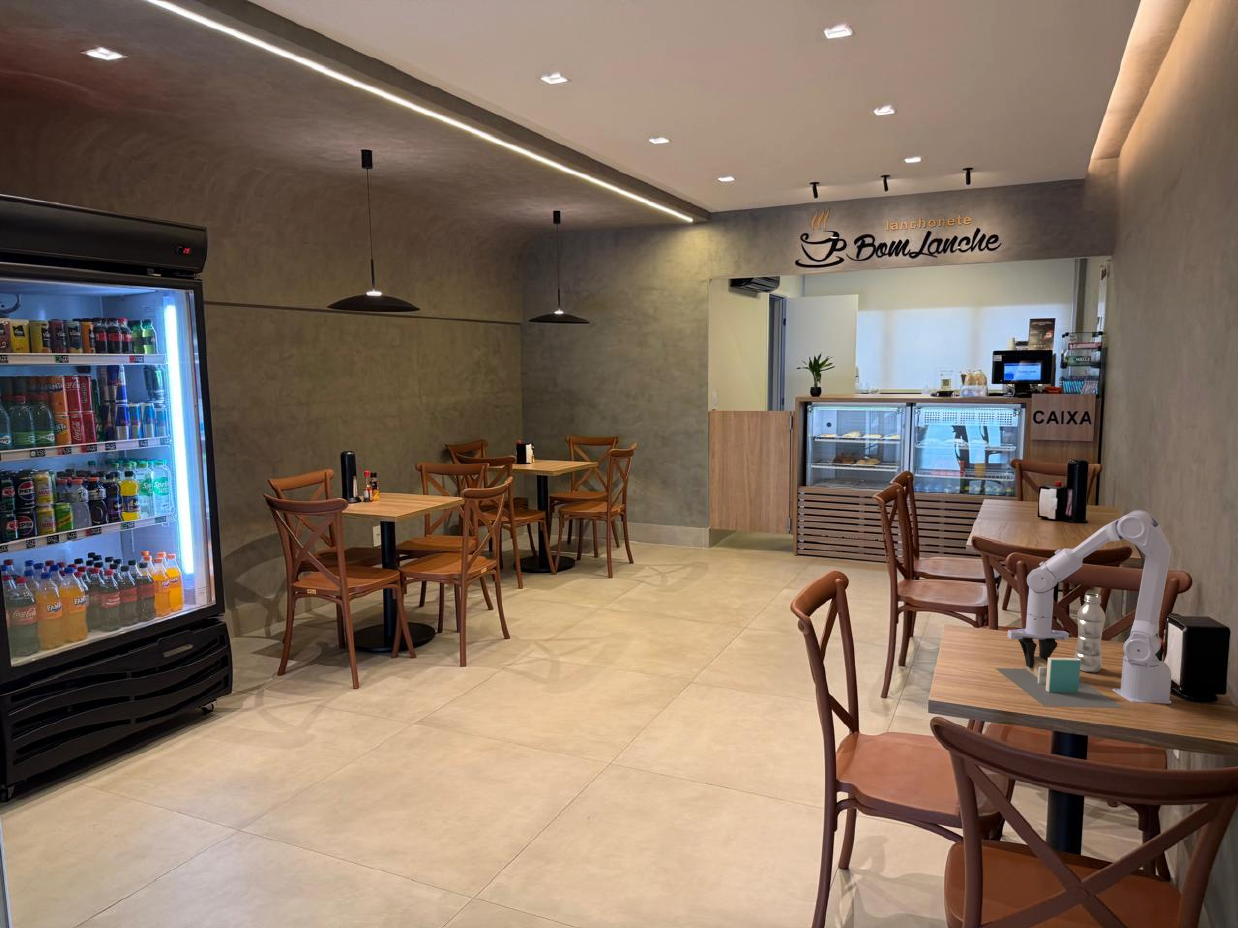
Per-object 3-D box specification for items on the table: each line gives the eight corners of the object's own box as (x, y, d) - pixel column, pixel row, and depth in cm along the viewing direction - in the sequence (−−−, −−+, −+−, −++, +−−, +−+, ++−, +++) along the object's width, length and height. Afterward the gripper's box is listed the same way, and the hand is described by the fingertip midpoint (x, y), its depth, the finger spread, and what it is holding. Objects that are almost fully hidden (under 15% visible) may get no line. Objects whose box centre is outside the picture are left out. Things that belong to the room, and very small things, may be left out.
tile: (1074, 690, 199) (1077, 658, 198) (1078, 692, 197) (1081, 660, 196) (1045, 689, 199) (1047, 657, 198) (1049, 692, 197) (1051, 659, 196)
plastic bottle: (1075, 673, 212) (1081, 596, 210) (1070, 665, 218) (1076, 590, 216) (1104, 676, 210) (1110, 599, 208) (1098, 668, 216) (1104, 593, 214)
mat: (1064, 671, 214) (1064, 669, 214) (1123, 709, 189) (1123, 707, 189) (994, 669, 214) (994, 668, 214) (1044, 707, 189) (1044, 705, 189)
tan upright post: (1042, 669, 213) (1044, 654, 212) (1063, 684, 203) (1064, 668, 202) (1019, 669, 213) (1020, 654, 212) (1039, 683, 203) (1040, 667, 202)
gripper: (1059, 610, 213) (1056, 662, 215) (1003, 609, 213) (1000, 660, 215) (1074, 618, 206) (1070, 671, 208) (1016, 617, 206) (1012, 670, 208)
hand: (1035, 666), depth 211 cm, fingers open, 3 cm apart
